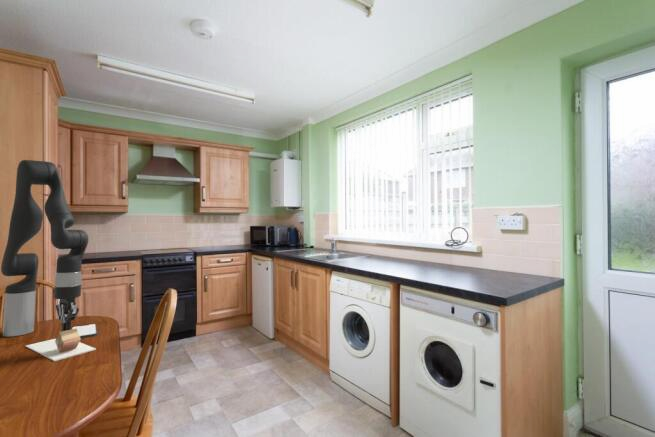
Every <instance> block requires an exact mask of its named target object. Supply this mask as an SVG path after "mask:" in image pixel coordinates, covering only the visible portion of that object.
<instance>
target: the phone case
mask: <svg viewBox="0 0 655 437" xmlns="http://www.w3.org/2000/svg"><path fill="white" fill-rule="evenodd" d="M71 329H77V331H78V333H79V336H80V338H81V339H85V338H92V337H97V336H98V326H97V324H96V323H93V324H86V325H85V324H84V325H78V326H77V325H76V326H73V327H72V326H71Z"/></svg>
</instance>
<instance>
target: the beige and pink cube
mask: <svg viewBox="0 0 655 437" xmlns="http://www.w3.org/2000/svg"><path fill="white" fill-rule="evenodd" d="M55 339H56V340H55V343H56V345H57V348H58V351H59V353H60V352H64V351H67V350H71V349H75V348H77V346H78V344H79V342H81V340H82V338H80V336H79V333H78V331H77V329H71V330H67V331H62V332H61V331H59V333H58V334H57V336H56V338H55Z"/></svg>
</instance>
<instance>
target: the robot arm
mask: <svg viewBox="0 0 655 437" xmlns="http://www.w3.org/2000/svg"><path fill="white" fill-rule="evenodd" d="M34 185H37V186H38V185H39V186H48V187H49V189H50V191H49V192H50V193H49V195H48V197H47V199H46V201H45V204H44V206H43V207H44V211H43V210H42V209H41V207H40V205H39V204H38V203H37V202H36V200H35V199H34V197H33V195H32V192H31V191H32V190H31V189H32V186H34ZM43 212H44V213H45V216H46V218H47V220H48V222H49V225H50V242H51V245H52V246H53V247H55V248H56V249H58V250H70V251H69V253H68V254H64V255H61V256H59V257H58V258H57V259H56V273H55V278H54V291H53V292H54V293H53V294H54V295H53V298H54V300H59V301H58V302H59V303H58V304H56V305H55V310H56V313H57V319H58V320H59V321H60V323H61V331H60V332H62V331H67V330H71V328H72V322H73V321H75V320H76V317H77V315H78V313H79V312H80V311H79V310H80V308H79V307H77V301H76V299H77V298H79V297H81V295H82V281H83V280H82V279H83V278H82V260H83V257H84V255H85V252H86V250H87V247H88V244H89V236H88V233H87V232H86V231H85V230H83V229H69V228H71V227H72V226H74V224H75V219H74V216H73V214H72V212H71V209H70V208H69V205H68V203H67V199H66V197H65V191H64V187H63V183H62V179H61V175H60V172H59V169H58V168H57V166H56V164H55V163H54V162H52V161H51V162H50V161H46V160H44V161H43V160H33V159H23V160H20V162H19V163H18V166H17V169H16V182H15V194H14V203H13V207H12V211H11V216H10V221H9V228H8V235H7V236H8V237H7V241H6V242H7V243H6V246H5V249H4V253H3V257H2V260H1V266H0V267H1V268H0V272H1V274H2V275H3V276H4V277H16V276H18V277H19V276H21V277H22V276H24V277H23V278H22V279H21V280H19V281H16V282H14V283H10V284H8V285H6V286H5V289H4V290H5V291H4V292H5V293H4V306H3V309H4V310H3V320H2V321H3V325H2V336H3V337H17V336H23V335H27V334H31V333H33V332H34V330H35V329H34V328H35V314H36V313H35V311H36V295H37V294H36V291H37V279H38V278H37V277H38V270H39V263H40V262H39V260H40V259H39V256H38V254H37V253H35V252H34V253H33V252H28V253H27V252H26V253H19V251H20V249H21V248H22V247H23V246H24V245H25V244H26V243H28V242H29V241H30V240H32V238H34V237H35V236H36V235H37V234H38V233H39V232H40V231H41V228H42V224H43V222H44V213H43Z"/></svg>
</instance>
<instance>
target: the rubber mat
mask: <svg viewBox="0 0 655 437" xmlns="http://www.w3.org/2000/svg"><path fill="white" fill-rule="evenodd" d="M55 340H56V338H51V339H48V340H45V341H44V340H43V341H40V342H36V343H31V344H26V345H25V347H26V348H27V349H30V350H31V351H34V352H35V353H37V354H40V356H42V357H45V358H47V359H49V360H51V361H53V362H58V361H60V360H65V359H67V358H72V357H75V356H78V355H79V356H80V355H82V354H86V353H89V352H93V351H96V350H97V348H96V347H93V346H91V345H88V344H86V343H83V342H81V341H80V342H79V344H78V346H77V348H75V349H71V350H67V351H64V352H60V353H59V351H58V348H57V345H56V343H55Z"/></svg>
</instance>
